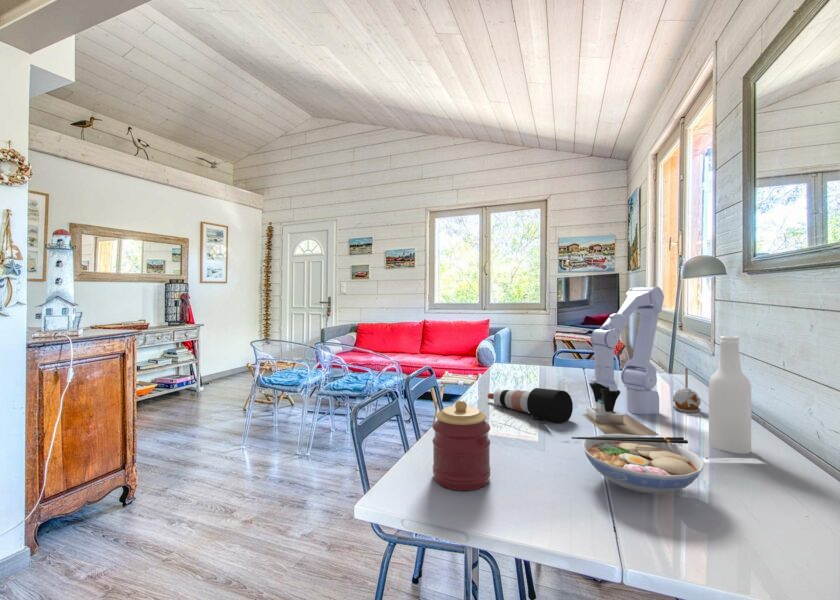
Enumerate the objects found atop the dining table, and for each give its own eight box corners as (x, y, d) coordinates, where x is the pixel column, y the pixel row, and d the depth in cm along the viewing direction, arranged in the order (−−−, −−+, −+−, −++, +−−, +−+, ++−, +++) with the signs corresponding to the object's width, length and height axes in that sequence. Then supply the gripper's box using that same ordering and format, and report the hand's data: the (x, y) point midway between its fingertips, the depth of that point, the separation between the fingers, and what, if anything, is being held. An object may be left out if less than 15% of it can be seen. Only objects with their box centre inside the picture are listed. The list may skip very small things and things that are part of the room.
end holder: (612, 414, 132) (612, 407, 132) (623, 422, 124) (623, 414, 124) (586, 414, 133) (586, 407, 132) (595, 422, 124) (595, 414, 124)
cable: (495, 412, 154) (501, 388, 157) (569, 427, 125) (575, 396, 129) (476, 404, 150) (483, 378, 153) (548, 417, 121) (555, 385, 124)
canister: (424, 470, 93) (423, 396, 93) (473, 462, 98) (472, 391, 97) (447, 496, 81) (446, 410, 81) (501, 485, 85) (501, 404, 85)
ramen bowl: (594, 510, 75) (594, 468, 75) (566, 461, 98) (566, 428, 98) (738, 519, 72) (738, 475, 72) (675, 466, 94) (675, 432, 94)
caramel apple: (696, 415, 134) (696, 371, 134) (670, 410, 140) (670, 368, 140) (702, 410, 140) (702, 368, 140) (677, 406, 145) (677, 365, 145)
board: (627, 417, 132) (627, 414, 132) (659, 438, 113) (659, 435, 113) (581, 416, 133) (581, 413, 133) (605, 437, 113) (605, 434, 113)
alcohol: (748, 448, 105) (748, 335, 105) (753, 460, 98) (753, 338, 97) (707, 441, 110) (707, 334, 110) (709, 452, 102) (709, 337, 102)
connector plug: (607, 416, 130) (607, 395, 130) (612, 420, 126) (612, 398, 126) (596, 416, 130) (596, 395, 130) (600, 420, 126) (600, 398, 126)
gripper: (583, 362, 135) (583, 401, 136) (600, 370, 121) (600, 414, 121) (604, 362, 135) (604, 402, 135) (623, 370, 121) (624, 414, 121)
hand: (604, 408), depth 128 cm, fingers open, 7 cm apart
